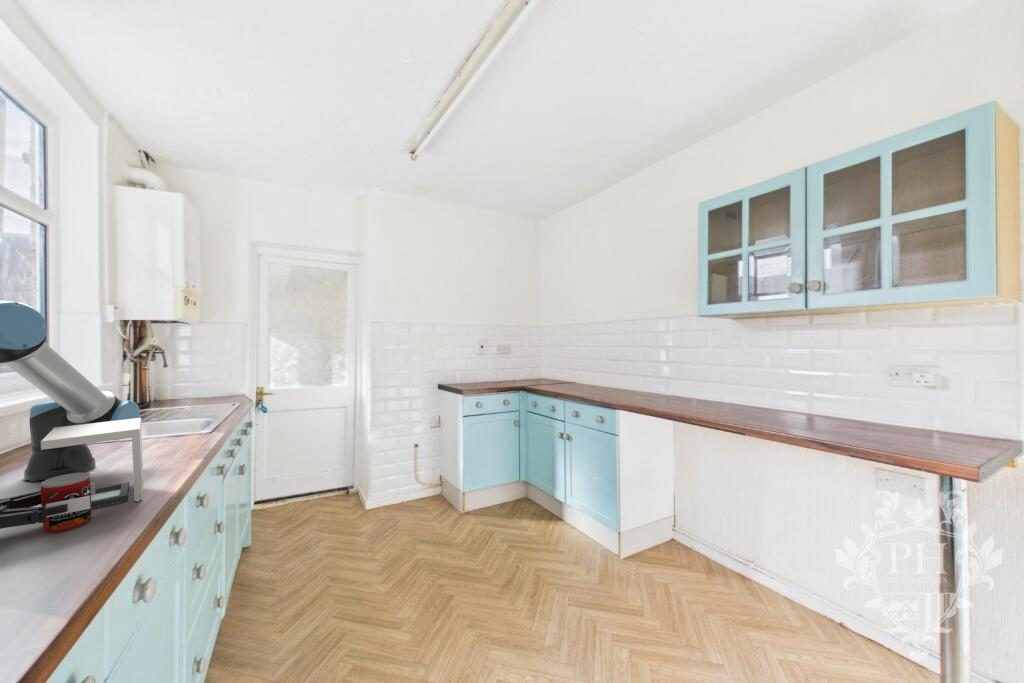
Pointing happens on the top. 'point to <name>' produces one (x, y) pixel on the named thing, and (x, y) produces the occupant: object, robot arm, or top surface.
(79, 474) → the canned food
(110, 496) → the grey picture frame
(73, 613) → the top surface
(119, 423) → the shelf
